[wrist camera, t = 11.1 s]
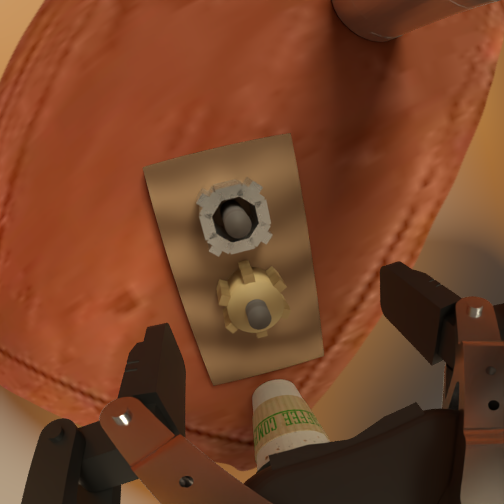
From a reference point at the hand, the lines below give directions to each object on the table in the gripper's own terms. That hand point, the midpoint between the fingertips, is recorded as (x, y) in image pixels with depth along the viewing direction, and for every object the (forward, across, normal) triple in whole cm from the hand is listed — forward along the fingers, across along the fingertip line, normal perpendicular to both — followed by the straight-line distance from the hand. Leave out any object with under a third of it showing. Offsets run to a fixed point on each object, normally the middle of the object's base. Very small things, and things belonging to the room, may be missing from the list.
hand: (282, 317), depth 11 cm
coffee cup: (+21, 0, +26) cm, 34 cm away
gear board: (+21, 0, +7) cm, 22 cm away
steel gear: (+20, 0, 0) cm, 20 cm away
